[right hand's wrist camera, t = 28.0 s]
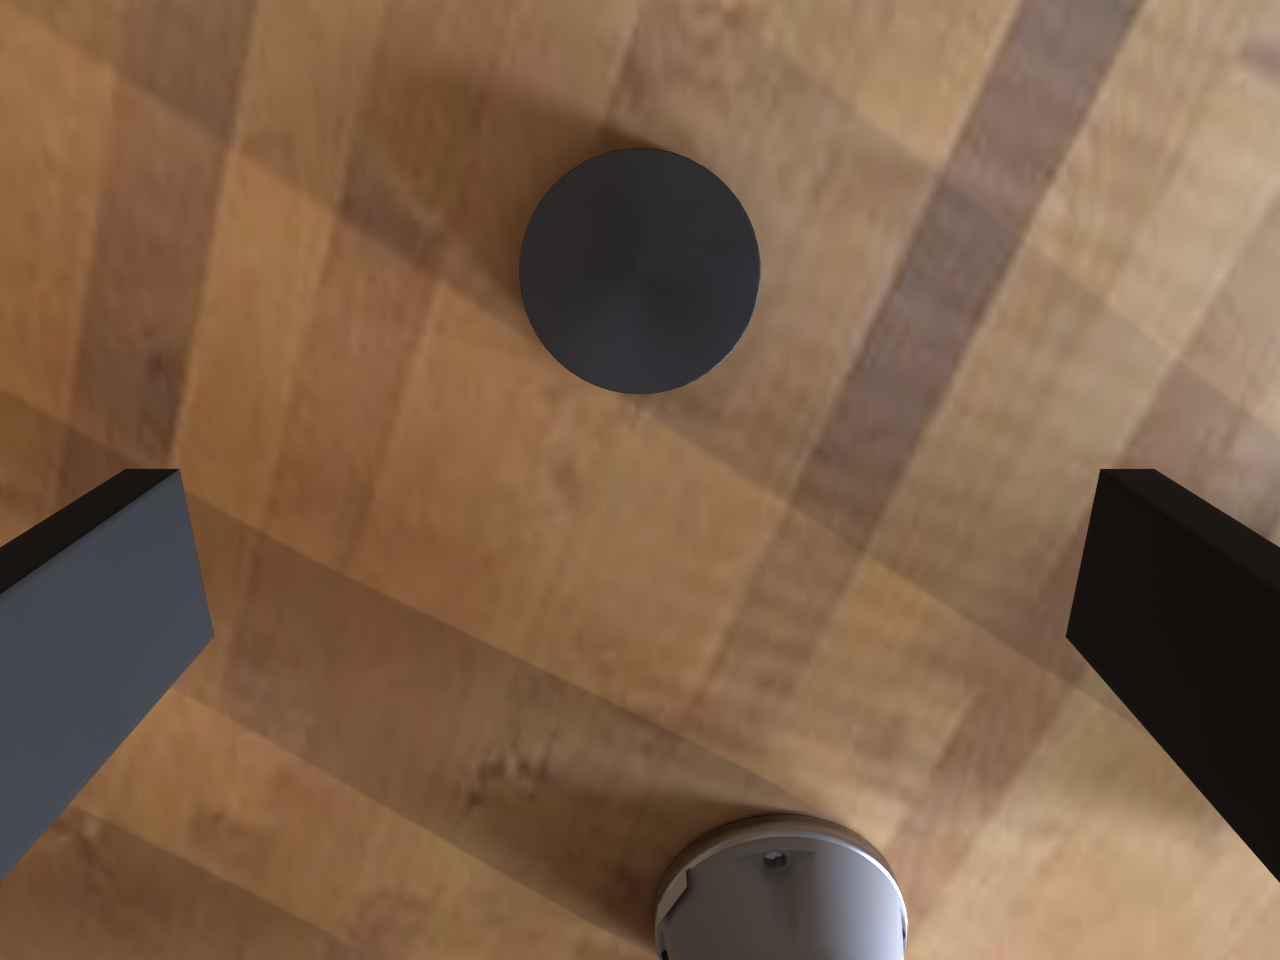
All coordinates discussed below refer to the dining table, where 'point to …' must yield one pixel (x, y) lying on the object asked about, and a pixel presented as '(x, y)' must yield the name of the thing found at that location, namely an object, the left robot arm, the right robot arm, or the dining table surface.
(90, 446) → the dining table surface
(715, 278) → the lid
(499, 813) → the dining table surface
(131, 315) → the dining table surface
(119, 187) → the dining table surface
